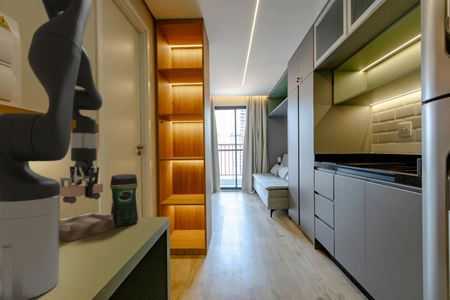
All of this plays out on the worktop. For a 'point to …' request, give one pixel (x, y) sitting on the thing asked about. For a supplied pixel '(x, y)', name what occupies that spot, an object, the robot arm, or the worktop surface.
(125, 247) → the worktop surface
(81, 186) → the tan board with wheels
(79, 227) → the dock
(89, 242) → the worktop surface
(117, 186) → the coffee jar
